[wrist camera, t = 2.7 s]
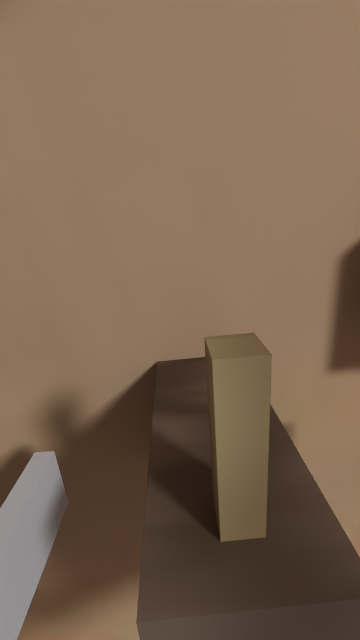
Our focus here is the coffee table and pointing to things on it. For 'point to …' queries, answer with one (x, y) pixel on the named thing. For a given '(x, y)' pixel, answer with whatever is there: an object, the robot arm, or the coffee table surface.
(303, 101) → the coffee table surface
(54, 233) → the coffee table surface
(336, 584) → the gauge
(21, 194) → the coffee table surface
